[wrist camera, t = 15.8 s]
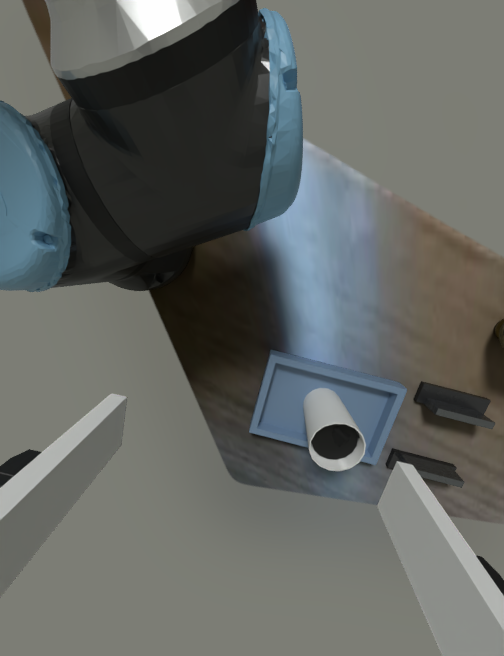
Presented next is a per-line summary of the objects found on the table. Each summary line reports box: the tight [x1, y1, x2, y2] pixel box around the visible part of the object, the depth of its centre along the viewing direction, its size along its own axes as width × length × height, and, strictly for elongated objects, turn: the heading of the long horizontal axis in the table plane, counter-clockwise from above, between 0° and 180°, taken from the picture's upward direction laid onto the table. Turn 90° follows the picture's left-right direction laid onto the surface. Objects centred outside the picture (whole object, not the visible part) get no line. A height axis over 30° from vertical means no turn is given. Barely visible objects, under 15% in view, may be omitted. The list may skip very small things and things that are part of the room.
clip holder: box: [386, 381, 495, 488], centre depth 41 cm, size 15×10×4 cm, turn 166°
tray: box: [249, 350, 407, 465], centre depth 41 cm, size 13×20×2 cm, turn 76°
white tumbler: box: [303, 388, 366, 471], centre depth 37 cm, size 7×7×10 cm
